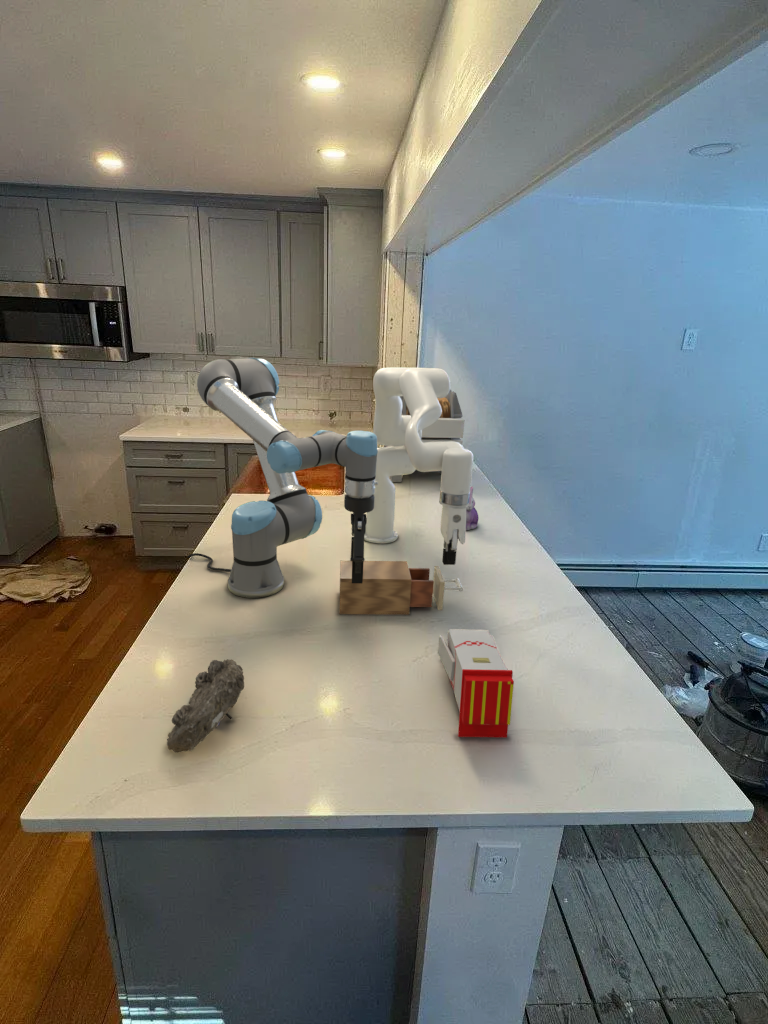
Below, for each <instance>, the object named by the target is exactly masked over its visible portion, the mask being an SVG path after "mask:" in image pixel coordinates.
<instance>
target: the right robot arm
mask: <svg viewBox="0 0 768 1024" xmlns="http://www.w3.org/2000/svg"><path fill="white" fill-rule="evenodd" d="M373 375H374V376H373V380H372V389H373V394H374V399H375V409H374V417H373V426H372V427H373V428H372V433H374V434H375V435H376V436H377V445H379V446H380V447H378V446H377V450H378V453H377V461H376V478H375V482H377V483H378V485H374V486H375V493H374V494H373V495H374V496H375V499H374V509H373V510H372V511H370V512H366V518H367V523H366V532H365V535H364V541H366V542H368V543H373V544H389V543H393V542H395V541H397V540H398V537H399V534H398V532H397V531H396V530H395V528H394V527H395V510H396V509H395V508H396V507H395V506H396V491H397V490H396V486H395V484H394V482H391V480H390V478H389V476H394V475H402V476H405V475H411V474H413V473H415V471H418V472H421V473H429V472H440V471H442V474H441V473H440V474H441V475H440V485H439V486H440V488H439V500H438V503H439V504H440V505H442V507H441V515H440V533H441V536H442V538H443V550H442V558H441V562H442V564H443V565H445V566H455V565H456V561H457V550H458V542H459V543H460V544H461V545H464V544H465V543H466V532H467V530H466V506H468V505H469V498H470V488H471V487H472V478H473V477H472V476H473V468H474V454H473V452H472V451H471V450H469V449H467V448H465V447H464V446H463V444H462V445H461V444H460V443H458V442H453V441H449V442H425V443H423V442H422V441H421V436H422V429H424V428H426V427H428V426H430V425H432V424H433V423H435V422H436V421H437V420H438V419H439V418H440V416H441V413H442V409H441V406H440V404H439V401H438V399H437V398H444V397H446V396H447V395H448V393H449V391H450V390H451V378H450V376H449V374H448V373H447V371H446V370H444V369H442V368H440V367H399V366H398V367H397V366H396V367H395V366H393V367H390V366H389V367H382V368H379V369H377V371H375V373H374V374H373ZM400 396H403V397H404V399H405V402H406V405H407V407H408V410H409V413H410V415H402V407H403V405H402V400H401V398H400ZM384 445H403V446H399V447H384Z"/></svg>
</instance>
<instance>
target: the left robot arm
mask: <svg viewBox="0 0 768 1024" xmlns="http://www.w3.org/2000/svg"><path fill="white" fill-rule="evenodd" d="M279 385H280V378H279V375H278V372H277V370H276V368H275V367H274V365H273V364H272V363H271V362H269V361H268V360H266V359H265V358H260V357H259V358H257V357H256V358H255V357H246V358H226V359H225V358H221V359H220V358H218V359H215V360H212V361H209V362H208V363H206V364H205V365H204V366H203V367H202V368H201V370H200V372H199V374H198V376H197V380H196V386H197V392H198V394H199V397H200V398H201V400H202V401H203V402H204V403H205V404H206V406H207V407H209V408H210V409H211V410H212V411H214V412H220V413H222V414H223V415H224V416H225V417H226V418H227V419H229V421H230V422H232V423H233V424H234V425H235V426H236V427H237V428H239V429H240V430H241V431H242V432H243V433H244V434H246V435H247V436H248V437H249V438H250V439H251V440H252V442H253V444H254V448H255V451H256V454H257V458H258V460H259V464H260V466H261V469H262V472H263V476H264V478H265V479H264V480H265V482H266V484H267V488H268V491H269V495H268V497H267V499H266V500H257V501H256V500H253V501H248V502H245V503H242V504H241V505H239V506H237V507H236V508H235V509H234V510H233V512H232V514H231V524H230V529H231V536H232V554H233V557H232V558H233V563H232V565H231V568H223V567H213V566H211V565H212V564H213V562H214V560H213V557H210V556H209V555H207V554H203V553H198V552H193V553H190V554H188V555H187V556H186V558H187V559H190V558H191V557H201V558H205V559H207V560H208V561H209V562H208V563H207V564H206V567H207V569H208V570H210V571H215V572H216V571H217V572H227V573H229V575H228V579H227V589H228V590H229V592H230V593H231V594H233V595H235V596H237V597H242V598H246V599H247V598H248V599H257V598H265V597H269V596H273V595H275V594H276V593H279V592H280V591H281V590H282V589H283V588H284V586H285V576H284V574H283V571H282V569H281V567H280V563H279V561H278V555H277V553H278V551H277V549H278V548H277V547H280V546H282V545H286V544H290V543H293V542H295V541H298V540H303V539H306V538H308V537H310V536H312V535H314V534H316V533H317V532H318V531H319V529H320V527H321V524H322V521H323V510H322V506H321V504H320V502H319V500H318V499H316V497H315V496H313V495H311V494H308V491H307V488H306V487H304V486H303V485H301V484H300V483H299V480H298V477H297V475H296V472H298V471H303V470H307V469H311V468H316V467H321V466H325V465H330V464H333V465H334V464H335V465H336V466H340V467H342V468H345V473H344V490H343V491H344V493H345V494H344V498H343V499H344V501H343V502H344V503H343V507H344V509H345V511H347V512H350V525H351V541H350V542H351V545H350V557H349V561H352V583H361V584H362V582H363V562H364V561H365V540H364V535H365V532H366V523H367V518H366V517H367V512H370V511H372V510H373V509H374V499H375V496H374V495H373V494H374V493H375V486H374V485H378V483H377V482H375V478H376V461H377V453H378V450H377V448H378V444H377V436H376V435H375V434H374V433H373V431H368V430H366V431H365V430H351V431H349V432H348V433H347V434H346V435H345V434H342V433H338V432H335V431H333V430H325V429H320V430H317V431H316V432H315V433H313V434H312V435H311V436H305V437H297V436H296V435H295V434H294V433H292V432H291V431H290V430H289V429H287V428H286V427H285V426H284V425H283V424H282V423H280V422H279V419H278V416H277V413H276V410H275V407H274V406H275V404H276V402H277V397H276V396H277V395H278V393H279V390H280V386H279Z"/></svg>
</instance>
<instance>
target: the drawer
mask: <svg viewBox="0 0 768 1024" xmlns="http://www.w3.org/2000/svg"><path fill="white" fill-rule="evenodd" d="M433 570H434V571H433V579H430V574H431V573H430V572H431V568H429V567H409V571H410V575H411V579H412V580H411V594H410V608H433V607H432V606H433V599H434V603H435V606H436V609H437V611H443V609H444V608H443V607H444V595H445V591H458V592H463V591H464V587H463V585H462V582H461V580H460V578H459V577H456V578H454V579H453V578H451V579H450V578H447V579H446V578H445V579H444V576H443V574H442V573H443V572H442V570H441V567H440V566H439V565H434V569H433ZM446 583H455V585H456V586H446Z"/></svg>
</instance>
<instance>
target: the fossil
mask: <svg viewBox="0 0 768 1024" xmlns="http://www.w3.org/2000/svg"><path fill="white" fill-rule="evenodd" d="M243 670H244V669H243V667H242V665H240V664H237V662H236V661H235V660H234V659H232V658H231V659H227V658H226V659H224V660H223V661H222V660H217V659H212V660H211V661H210V663H209V665H208V666H207V671H201V672H199V673H198V674H197V675H196V676H195V680H194V684H195V685H194V687H195V689H194V690H193V693H192V694H191V697H190V698H189V700H188V704H184V705H182V706H181V707H180V709H177V710H176V711H175V713H174V715H173V716H172V718H171V723H172V724H173V727H172V730H171V731H170V732H168V734H167V738H166V741H167V742H166V745H167V749H168V750H169V751H173V752H174V753H176V754H178V753H182V752H188V751H189V752H192V751H193V750H195V748H196V747H197V746H199V744H200V743H201V742H203V741H204V740H205V739H206V738H207V737H208V736H209V735H210V734H211V733H212V732H214V730H215V729H217V727H218V726H219V724H220V722H221V721H222V720H223V719H224V718H225V716H226V717H227V719H229V720H233V717H232V715H230V714H229V710H230V709H231V708H234V706H235V704H236V703H237V702H238V699H239V697H240V695H241V693H242V691H243V690H245V689H244V688H245V675H244V671H243Z"/></svg>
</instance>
